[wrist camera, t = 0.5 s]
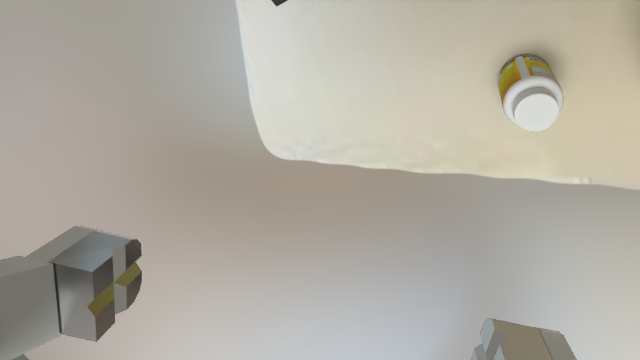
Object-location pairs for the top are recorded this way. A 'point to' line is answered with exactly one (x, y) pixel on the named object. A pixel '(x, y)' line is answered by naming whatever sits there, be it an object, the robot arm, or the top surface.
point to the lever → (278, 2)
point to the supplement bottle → (530, 93)
